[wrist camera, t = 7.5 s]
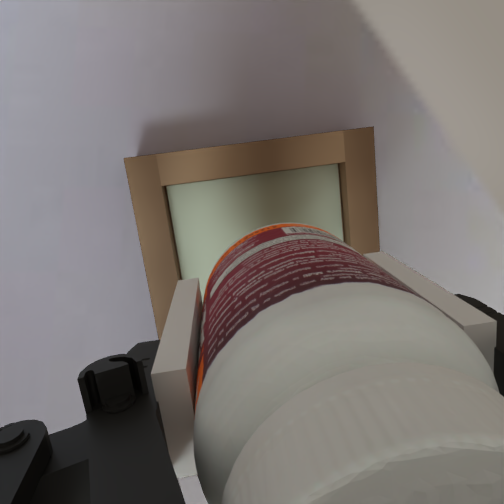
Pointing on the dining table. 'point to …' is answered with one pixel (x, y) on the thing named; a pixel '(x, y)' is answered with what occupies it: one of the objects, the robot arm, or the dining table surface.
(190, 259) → the holder
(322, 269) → the pill bottle
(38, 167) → the dining table surface
